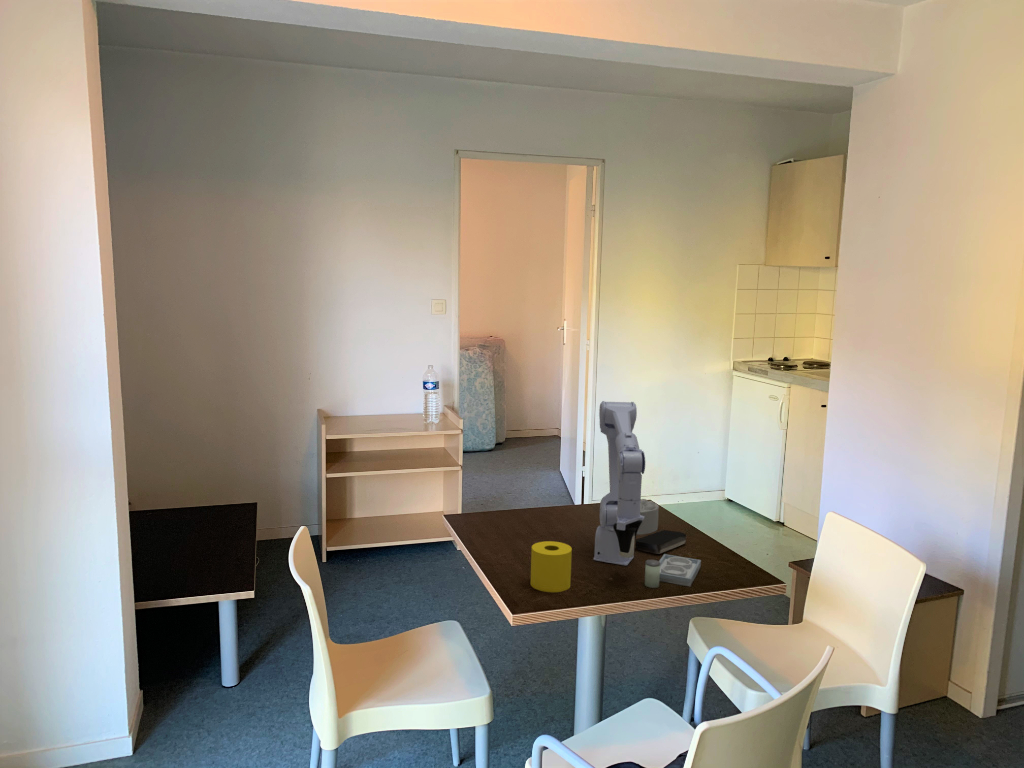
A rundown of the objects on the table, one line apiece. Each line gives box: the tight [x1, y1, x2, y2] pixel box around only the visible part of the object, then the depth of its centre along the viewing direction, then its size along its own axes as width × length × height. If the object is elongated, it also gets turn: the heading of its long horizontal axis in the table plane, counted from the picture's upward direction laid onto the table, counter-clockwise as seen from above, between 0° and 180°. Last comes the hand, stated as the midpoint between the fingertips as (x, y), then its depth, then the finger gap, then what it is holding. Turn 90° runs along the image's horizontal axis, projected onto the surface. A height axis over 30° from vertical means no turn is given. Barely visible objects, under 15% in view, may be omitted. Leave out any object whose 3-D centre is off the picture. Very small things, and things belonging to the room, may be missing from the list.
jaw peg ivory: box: [619, 532, 635, 558], centre depth 192 cm, size 4×4×6 cm
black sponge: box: [634, 529, 687, 555], centre depth 218 cm, size 16×8×4 cm, turn 135°
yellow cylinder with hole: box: [529, 540, 573, 593], centre depth 188 cm, size 10×10×9 cm
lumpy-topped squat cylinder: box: [636, 498, 660, 536], centre depth 235 cm, size 10×13×9 cm
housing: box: [658, 553, 702, 587], centre depth 198 cm, size 10×15×2 cm, turn 156°
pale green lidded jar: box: [644, 559, 660, 589], centre depth 189 cm, size 4×4×6 cm
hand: (626, 549), depth 192 cm, fingers closed on jaw peg ivory, 4 cm apart
